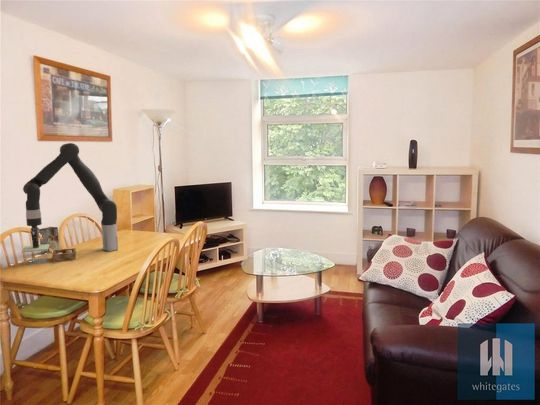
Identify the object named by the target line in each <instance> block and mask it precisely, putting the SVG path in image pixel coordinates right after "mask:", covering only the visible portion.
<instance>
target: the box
mask: <svg viewBox="0 0 540 405" xmlns="http://www.w3.org/2000/svg"><path fill="white" fill-rule="evenodd" d="M67 250H72V253H66V251H67ZM57 253H62V254H57ZM51 257H52V263H57V262H67V261H75V260H76V259H77V248H75V247H73V248H64V249H63V248H62V249H60V250H54V251H53V252H52V256H51Z"/></svg>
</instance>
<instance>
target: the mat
mask: <svg viewBox="0 0 540 405" xmlns="http://www.w3.org/2000/svg"><path fill="white" fill-rule="evenodd" d="M48 259H49V257H44V258H43V257H42V258H32V259H28V261H27V263H26V266H30V265H40V264H47V262H48ZM33 260H34V261H33ZM29 261H32V262H29Z"/></svg>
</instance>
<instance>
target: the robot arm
mask: <svg viewBox="0 0 540 405" xmlns="http://www.w3.org/2000/svg"><path fill="white" fill-rule="evenodd" d="M79 154H80V148H79V146H78V145H77V144H75V143H73V142H69V143H64V144H61V146H60V147H59V154H58V155H57V156H56V157H55V158H54V159H52V161H50V162H49V163H48V164H47V165H46V166H44V167H43V168H42V169H41V170H40V171H39V172H38V173H37V174H36V175H35V176H34V177H32V178H31V179H30V180H29V181H27V182H26V183H25V184H24V185H23V187H22V191H23V192H24V194H25V195H26V201H25V218H26V220H25V221H26V226H27V227H30V234H31V235H30V236H31V241H32V240H33V244H32V246H33V247H37V246H38V241H37V240H38V239H37V237H39V238H40V236H39V229H40V228H39V227H38V226H41V225H42V224H43V222H42V212H41V207H40V206H41V205H40V199H41V198H40V197H41V189H40V188H41V187H42V186H44V185H46V184H47V183H48V182H50V180H51V179H52V178H53V177H54V176H55V175H56V174H57V173H58V172H59V171H60V170H61V169H62V168H63V167H64V166H66V165H67V164H68V165H69V166H70V167H71V169H72V171H73V172H74V174H75V175H76V176H77V178H78V179H79V182H80V183H81V184H82V186H83V187H84V188H85V190H86V191H87V192H88V193H89V194H90V195H91V197H92V198H93V200H94V201H95V203H96V206H97V207H98V210H99V211H100V212H101V215H102V218H101V220H100V224H101V237H102V239H101V240H102V241H101V242H102V250H103V251H104V252H112V251H117V250H119V243H118V242H119V241H118V239H119V238H118V228H117V220H118V210H117V209H118V206H117V204H116V203H115V202H114V201H113V200H110V198H109V197H108V196H107V195H106V194H105V193H104V191H103V188H102V186H101V184H100V181H99V179H98V178H97V176H96V174H95V172H93V171H92V170H91V169H90V168H89V166H87V165H86V164H85V163H84V162H83V161H82V160H81V158H80V157H79ZM34 237H36V238H34Z"/></svg>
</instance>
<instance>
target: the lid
mask: <svg viewBox="0 0 540 405" xmlns="http://www.w3.org/2000/svg"><path fill="white" fill-rule="evenodd" d="M34 238H36V237H34ZM37 239H38V240H37V241H38V246H37V247H33V240H32V239H31V241H32V242H31V243H32V245H24V247H22V249H21V253H24V254H25V253H36V252H41V251H47V250H48V249H49V246H50V244H44V245H40V236H39V237H37Z"/></svg>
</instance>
